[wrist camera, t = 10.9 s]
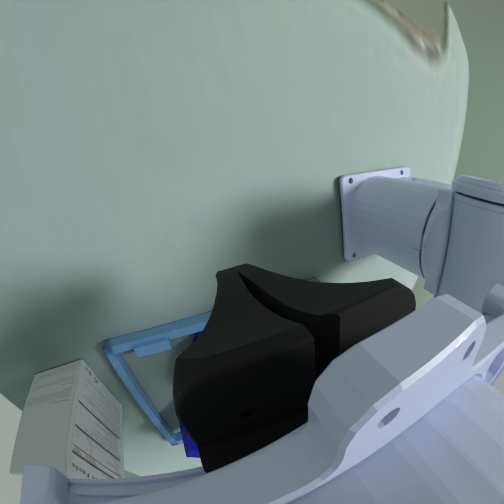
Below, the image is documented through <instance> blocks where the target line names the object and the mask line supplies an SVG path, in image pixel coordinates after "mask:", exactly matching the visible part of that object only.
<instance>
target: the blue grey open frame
mask: <svg viewBox="0 0 504 504" xmlns="http://www.w3.org/2000/svg"><path fill="white" fill-rule="evenodd" d="M306 281H313V282H320V281H319V280H317V279H316V278H315V277H314V278H311V279H309V280H306ZM211 312H212V311H210V312H207V313H203V314H200V315H197V316H193V317H190V318H186V319H183V320H179V321H176V322H172V323H169V324H165V325H161V326H158V327H154V328H150V329H147V330H143V331H139V332H135V333H131V334H128V335H124V336H120V337H116V338H112V339H108V340H104V343H103V348H102V349H103V351H104V352H105V354H106V356H107V357H108V359H109V361H110V362H111V364H112V366H113V367H114V369H115V370H116V372H117V374H118V375H119V377H120V378H121V380H122V381H123V383H124V384H125V386H126V387H127V389H128V390H129V392H130V393H131V394H132V396H133V397H134V399H135V400H136V401H137V403H138V404H139V405H140V407H141V408H142V409H143V411H144V412H145V413H146V415H147V416H148V417H149V419H150V420H151V421H152V422H153V424H154V425H155V426H156V427H157V429H158V430H159V431H160V432H161V433H162V435H163V436H164V437H165V438H166V439H167V440H168V442H169V443H170V444H171V445H172V446H173V445H178V444H182V443H183V439H182V434H181V433H176V434H174V433H173V432H172V430H171V429H170V428H169V426H168V425H167V424H166V423H165V421H164V420H163V419H162V417H161V416H160V414H159V413H158V412H157V410H156V409H155V407H154V406H153V405H152V403H151V402H150V400H149V399H148V397H147V396H146V394H145V393H144V391H143V390H142V388H141V387H140V385H139V384H138V382H137V381H136V379H135V377H134V376H133V374H132V373H131V371H130V369H129V368H128V366H127V364H126V363H125V361H124V359H123V357H122V356H121V354H120V353H121V352H125V351H129V350H134V351H135V353H136V355H137V357H138V358H141V357H145V356H149V355H153V354H156V353H160V352H164V351H168V350H172V348H171V344H170V342H169V340H172V339H175V338H179V337H183V336H186V335H190V334H193V333H197V332H200V331H203V329H204V327H205V325H206V323H207V321H208V319H209V317H210V315H211Z"/></svg>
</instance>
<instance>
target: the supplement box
mask: <svg viewBox="0 0 504 504" xmlns="http://www.w3.org/2000/svg"><path fill="white" fill-rule="evenodd" d="M122 437H123V435H122V405H121V404H120V402H119V401H118V400H117V399H116V398H115V397H114V396H113V395H112V393H111V392H110V391H109V390H108V389H107V388H106V387H105V386H104V384H103V383H102V382H101V381H100V380H99V379H98V377H97V376H96V375H95V374H94V372H93V371H92V370H91V369H90V368H89V366H88V365H87V364H86V363H85V361H84V360H83V359H81V360H78V361H75V362H72V363H69V364H66V365H63V366H60V367H57V368H54V369H50V370H47V371H44V372H41V373H37V374H35V376H34V379H33V382H32V385H31V388H30V390H29V394H28V397H27V400H26V403H25V406H24V410H23V413H22V417H21V420H20V424H19V428H18V432H17V437H16V441H15V445H14V450H13V456H12V461H11V467H10V473H11V474H12V475H13V476H14V477H16V478H17V479H18V480H20V481H21V482H22V479H23V471H24V464H36V465H46V466H50V467H53V468H55V469H57V470H59V471H60V472H62V473H63V474H64V475H65V476H67V478H70V479H117V478H125V473H124V461H123V439H122Z"/></svg>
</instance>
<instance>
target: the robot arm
mask: <svg viewBox="0 0 504 504" xmlns="http://www.w3.org/2000/svg"><path fill="white" fill-rule="evenodd" d="M400 171H401V173H400ZM349 178H350V183H349ZM340 193H341V206H342V221H343V240H344V259H345V260H347V261H352V260H355V259H357V258H360V257H363V256H365V255H368V254H371V253H375V254H377V255H379V256H381V257H383V258H385V259H387V260H389V261H391V262H393V263H394V264H396V265H398V266H400V267H402V268H404V269H406V270H408V271H410V272H412V273H414V274H415V275H417V276H419V277H421V278H423V279H425V285H424V289H425V290H427V291H429V292H430V293H432V294H434V298H433V299H432V300H430V301H429V302H427V303H426V304H424V305H423V306H421V307H419V308H418V309H416V310H415V307H416V302H415V297H414V294H413V292H412V291H411V289H409V288H407V287H406V286H404V285H402V284H401V283H399V282H398V281H396V280H394V279H392V278H390V279H383V280H376V281H370V282H359V283H322V282H313V281H306V280H300V279H295V278H291V277H287V276H283V275H279V274H276V273H273V272H270V271H267V270H264V269H261V268H258V267H255V266H253V265H250V264H242V265H239V266H236V267H232V268H229V269H225V270H222V271H218V272H217V274H216V278H217V282H218V286H217V294H216V299H215V303H214V307H213V310H212V312H211V315H210V317H209V319H208V321H207V323H206V325H205V327H204V329H203V331H202V332H201V334H200V335H199V336H198V338H197V339H196V340H195V341H194V342H193V343H192V345H191V346H190V347H188V348H187V349H186V350H185V351H184V352H183V353H182V354H181V355H180V356H179V357H178V358H177V359H176V363H175V369H174V379H173V397H174V404H175V410H176V415H177V417H178V419H179V422H180V423H181V425H182V426H183V428H184V429H185V430H186V432H187V433H188V434H189V436H190V437H191V439H192V440H193V441H194V443H195V444H196V445H197V447H198V451H199V455H200V459H201V462H202V467H198V468H193V469H188V470H183V471H178V472H172V473H166V474H159V475H151V476H143V477H132V478H117V479H70V478H67V476H65V475H64V474H63V473H62V472H60V471H59V470H57V469H55V468H53V467H50V466H46V465H36V464H24V471H23V479H22V489H21V503H20V504H504V396H503V395H502V394H501V393H500V392H498V391H497V390H496V389H495V388H494V387H492V386H493V385H494V383H495V382H496V380H497V379H498V377H499V376H500V374H501V373H502V372H503V370H504V183H500V182H496V181H491V180H487V179H482V178H477V177H472V176H466V175H460V176H458V178H456V180H453V181H452V185H450V184H445V183H441V182H436V181H431V180H426V179H420V178H415V177H410V169H409V167H398V168H391V169H384V170H377V171H370V172H363V173H357V174H350V175H344V176H342V177H341V178H340ZM353 253H354V255H353ZM352 255H353V256H352Z"/></svg>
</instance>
